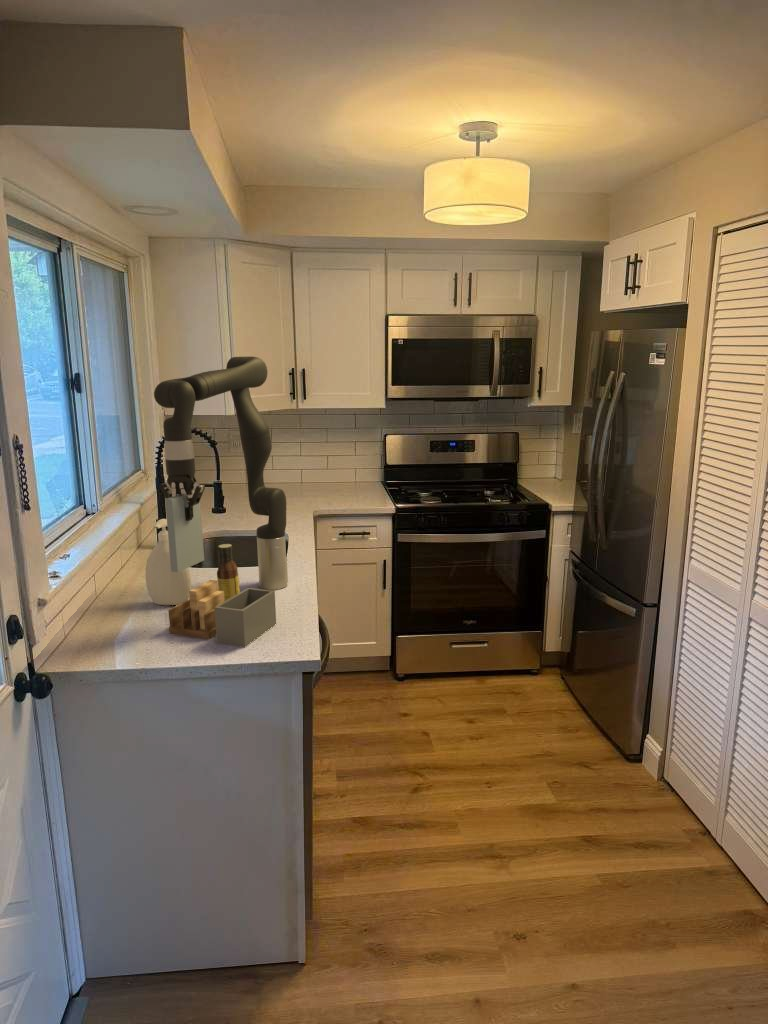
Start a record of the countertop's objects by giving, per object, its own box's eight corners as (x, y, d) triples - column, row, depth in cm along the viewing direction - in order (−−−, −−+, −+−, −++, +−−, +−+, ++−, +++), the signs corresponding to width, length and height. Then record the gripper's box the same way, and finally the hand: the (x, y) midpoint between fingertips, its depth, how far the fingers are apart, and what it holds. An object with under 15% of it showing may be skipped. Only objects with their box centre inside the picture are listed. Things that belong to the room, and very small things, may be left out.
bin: (249, 620, 191) (247, 587, 188) (276, 624, 188) (274, 590, 186) (216, 643, 175) (214, 607, 173) (245, 647, 172) (242, 610, 170)
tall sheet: (197, 559, 190) (192, 490, 185) (204, 560, 189) (199, 491, 185) (171, 571, 179) (165, 498, 174) (178, 572, 178) (171, 499, 174)
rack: (199, 616, 195) (198, 593, 193) (237, 621, 190) (236, 598, 189) (169, 633, 182) (167, 609, 180) (209, 639, 178) (207, 615, 176)
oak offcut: (212, 612, 192) (210, 579, 190) (219, 613, 191) (217, 580, 189) (191, 625, 182) (189, 590, 180) (198, 626, 182) (195, 591, 180)
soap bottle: (140, 608, 202) (132, 521, 196) (153, 599, 210) (146, 516, 204) (185, 610, 200) (178, 523, 194) (196, 601, 208) (190, 517, 202)
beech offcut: (219, 617, 188) (217, 590, 186) (225, 618, 187) (223, 591, 186) (200, 628, 180) (198, 601, 178) (207, 629, 179) (205, 601, 177)
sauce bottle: (232, 603, 205) (228, 541, 201) (245, 607, 201) (241, 544, 197) (214, 609, 200) (210, 545, 196) (227, 613, 197) (223, 549, 192)
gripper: (209, 455, 178) (214, 518, 182) (167, 454, 183) (172, 515, 187) (193, 459, 172) (198, 524, 175) (149, 457, 176) (154, 521, 180)
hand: (184, 519), depth 181 cm, fingers closed on tall sheet, 2 cm apart
